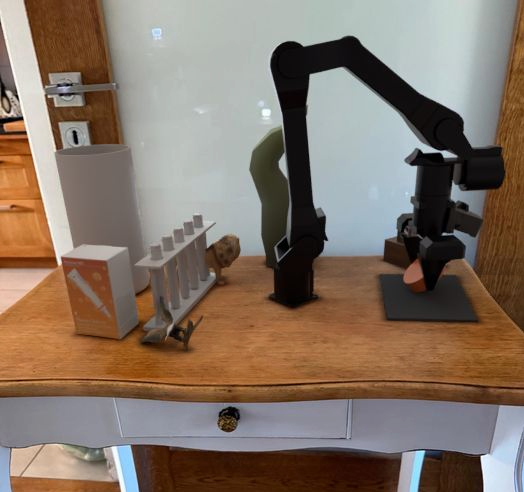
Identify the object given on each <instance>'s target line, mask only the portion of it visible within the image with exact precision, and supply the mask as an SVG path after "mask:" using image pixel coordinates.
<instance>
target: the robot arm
mask: <svg viewBox="0 0 524 492" xmlns="http://www.w3.org/2000/svg"><path fill="white" fill-rule="evenodd" d="M340 68H343V69H344V70H345V71H346V72H347V73H349V74H350V75H351V76H352V77H354V78H355V79H356V80H357V81H358V82H360V83H361V84H362V85H363V86H364V87H366V88H367V89H368V90H369V91H370V92H372V93H373V94H374V95H376V96H377V97H378V98H379V99H381V100H382V102H384V103H385V104H387V105H388V106H389V107H390V108H391V109H393V110H394V111H395V112H396V113H398V115H399V116H400V117H401V118H402V120H403V121H404V123H405V124H406V126H407V127H408V128H409V130H410V131H411V132H412V133H413V134H414V136H415V137H416V138H417V139H418V140H419V142H420V143H421V144H423V145H425V146H427V147H429V148H432V149H434V150H435V151H438V152H435V151H434V152H424V151H422V149H420V148H418V147H415V148H414V149H413V151H411V153H410V154H409V155H408V156H406V157H405V158H404V160H403V162H404V163H405V164H407V165H408V166H410V167H416V173H415V174H416V175H415V187H414V195H411V196H410V199H409V202H410V204H412V206H413V207H412V212H407V213H405V212H404V213H403V212H402V213H401V214H400V215H399V216H398V217H397V218H396V227H395V228H396V230H398V231H399V232H400V233H401V232H404V230H405V232H404V233H401V234H400V237H401V239H402V242H403V245H404V247H405V250H406V253H407V256H408V258H409V261H410V264H412V263H413V262H414V261H415V260H416V259H418V260H419V264H420V267H421V271H422V275H423V279H424V283H425V287H426V290H427V291H432V290H434V287H435V285H436V283H437V281H438V279H439V277H440V275H441V272H442V270H443V268H444V267H445V268H446V265H447V264H448V263H450V262H452V261H456V260H464V259H465V257H466V249H467V245H466V244H465V243H463V241H462V240H461V239H459V238H458V237H457V236H455V234H454V232H455V231H457V232H460V233H463V234H466V235H468V236H469V237H470V238H471V237H472V238H477V236H478V234H479V232H480V230H481V228H482V226H483V224H484V222H485V218H484V217H482V216H480V215H479V214H477V213H475V212H473V211H471V210H470V205H469V204H468V203H466V202H465V201H462V200H459V199H458V200H456V201H455V200H454V199H452V189H453V184H454V185H455V186H458V189H459V191H460V192H474V191H477V192H478V191H493V190H496V191H498V190H499V189H500V188H501V187H502V186H503V184H504V181H505V176H506V169H505V160H504V157H503V154H502V153H503V147H502V146H501V145H498V144H490V145H487V146H474V147H473V146H472V144H471V143H470V141H469V139H468V138H467V136H466V134H465V133H464V132H465V121H464V119H463V117H462V116H461V114H460V113H458V112H457V111H455V110H453V109H451V108H449V107H447V106H445V105H444V104H442V103H440V102H438V101H436V100H434V99H432V98H429V97H427V96H426V95H424V94H422V93H420V92H419V91H418V90H416V89H415V88H414V87H413V86H412V85H411V84H409V83H408V82H407V81H406V80H405V79H403V78H402V77H401V76H400V75H399V74H397V73H396V72H395V71H394V70H393V69H392V68H390V67H389V66H388V65H387V64H386V63H384V62H383V61H382V60H381V59H380V58H379V57H377V56H376V55H375V54H374V53H372V52H371V51H370V50H369V49H368V48H367V47H366V46H364V45H363V44H362V42H361V41H360V39H359V38H358V37H356V36H354V35H349V34H348V35H343V36H340V37H338V38H336V39H333V40H328V41H324V42H323V41H322V42H317V43H313V44H309V45H303V44H302V43H300V42H298V41H296V40H287V41H283V42H280V43H278V44H277V45H276V46H274V47H273V48H272V50H271V51H270V53H269V55H268V58H267V69H268V73H269V76H270V80H271V84H272V89H273V91H274V94H275V98H276V101H277V105H278V108H279V112H280V121H281V125H282V131H283V141H284V151H285V153H284V160H285V171H286V178H287V180H288V190H289V199H290V201H289V210H288V217H287V231H286V236H285V237H284V238H283V239H282V240H281V241H280V242H279V243H278V244H277V245H276V246H275V253H276V258H277V265H276V266H274V267H273V293H269V294H268V298H269V299H270V300H273V301H274V302H278V303H279V304H282V305H284V306H286V307H288V308H296V307H298V306H301V305H304V304H307V303H309V302H312V301H315V300H317V299H319V294H317V293H314V291H315V290H314V289H315V285H314V283H315V270H314V269H313V264H314V262H315V260H316V259H318V258H319V257H320V255H322V253H323V252H324V249H325V242H329V238H328V236H327V233H326V227H327V226H326V225H327V215H326V214H325V212H324V210H323V209H322V207H321V206H320V207H317V208H316V207H315V204H314V196H313V184H312V183H313V181H312V170H311V159H310V148H309V147H310V146H309V135H308V133H309V132H308V122H307V116H306V105H308V104H307V102H308V96H309V89H310V77H311V75H313V74H318V73H319V74H320V73H322V72H327V71H331V70H336V69H340ZM444 151H445V152H448V153H450V154H452V155H454V156H452V157H444V155H443V153H442V152H444ZM444 234H445V235H444Z"/></svg>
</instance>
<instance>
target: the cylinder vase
mask: <svg viewBox="0 0 524 492" xmlns="http://www.w3.org/2000/svg"><path fill="white" fill-rule="evenodd" d="M53 154H54V158H55V164H56V169H57V174H58V179H59V183H60V189H61V193H62V198H63V202H64V208H65V212H66V217H67V223H68V227H69V232H70V237H71V241H72V247H73V249H75V248H77V247H79V246H81V245H84V244H85V245H98V246H99V245H104V246H112V247H127V248H128V252H129V259H130V266H131V272H132V279H133V285H134V291H135V295H137V294H139V293H140V292H142V291H144V290H145V289H146V288H147V287H148V286H149V285H150V273H149V271H148V268H134V265H135V264H136V263H138V262H139V261H140V260H142V259H143V258H144V257H146V256H147V254H146V249H145V248H146V247H145V240H144V232H143V225H142V218H141V211H140V205H139V197H138V189H137V183H136V176H135V169H134V161H133V155H132V147H131V146H130V145H127V144H118V143H108V144H107V143H105V144H103V143H102V144H88V145H79V146H71V147H66V148H61V149H57V150H56V151H54V152H53Z"/></svg>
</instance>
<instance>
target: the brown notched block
mask: <svg viewBox="0 0 524 492" xmlns="http://www.w3.org/2000/svg"><path fill="white" fill-rule="evenodd" d="M396 230H397V229H396ZM404 232H405V230H404ZM404 232H401V233H404ZM401 233H400V232H399V231H398V230H397V232H396V236H393V237H389V238H385V239H384V245H383V260H382V261H383V262H386V263H389V264H391V265H393V266H397V267H400V268H403V269H406V270H407V269H408V267H409V266H410V265H411V264H410V261H409V258H408V256H407V253H406V250H405V247H404V245H403V242H402V239H401V237H400V234H401Z"/></svg>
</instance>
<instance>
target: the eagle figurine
mask: <svg viewBox="0 0 524 492" xmlns="http://www.w3.org/2000/svg"><path fill="white" fill-rule="evenodd" d="M159 300H160V314H161V316H162V318H163V320H164V321H165V323H166V326H165V327H164V328H160V329H153V330H151V331H150V332H149V331H148V332H147V334H146V335H144V336H142V339H141V341H140V343H146V342H151V343H153V344H154V343H159V342H160V341H162V340H163V339H164V338H165V339H164V341H165V342H166V341H167V340H168V338H169V337H170V338H173V339H174V340H175V341H178V342H180V343H183V345H182V346H183V348H184V350H185V351H188V350H189V349H188V346H189V342H190V340H191V337H192V335H193V333H194V331H195V330H196V329H197V327H198V326H199V325H200V323H201V322H202V320H203V318H204V315H203V314H201V315H200V317H199V318H198V319H197V320H196V321H195V323H194V322H193V321H192V320H191V318H188V320H187V323H186V327H182V326H180V325H178V324H177V325H176V324H174V322H173V317H172V315H171V313H170V311H169V310H168V309H166V308H165V304H164V298H163V297H162V296H160V299H159ZM182 335H183V336H182Z"/></svg>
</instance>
